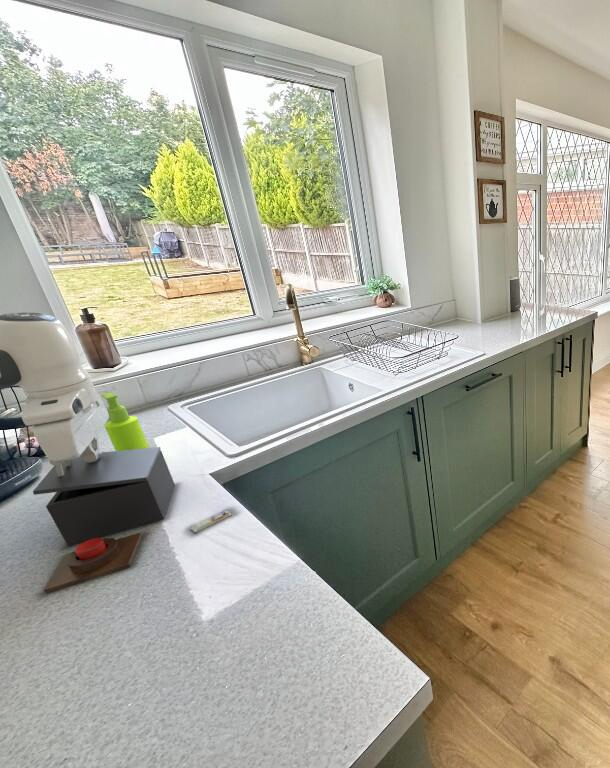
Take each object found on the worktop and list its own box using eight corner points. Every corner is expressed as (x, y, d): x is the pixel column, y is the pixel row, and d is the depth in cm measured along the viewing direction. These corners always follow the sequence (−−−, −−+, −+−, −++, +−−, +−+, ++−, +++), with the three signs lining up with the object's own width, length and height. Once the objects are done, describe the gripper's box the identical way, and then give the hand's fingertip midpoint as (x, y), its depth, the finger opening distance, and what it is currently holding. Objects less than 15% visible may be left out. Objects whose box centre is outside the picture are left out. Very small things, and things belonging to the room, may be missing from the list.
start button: (75, 563, 71) (71, 555, 71) (83, 550, 74) (78, 542, 73) (103, 555, 73) (99, 547, 72) (109, 542, 76) (105, 534, 75)
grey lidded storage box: (68, 548, 78) (45, 506, 75) (92, 508, 89) (73, 469, 86) (164, 520, 85) (147, 481, 81) (175, 486, 96) (161, 450, 92)
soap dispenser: (150, 457, 108) (120, 387, 100) (159, 465, 104) (129, 393, 97) (121, 468, 104) (88, 395, 96) (129, 477, 100) (95, 402, 92)
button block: (46, 595, 68) (38, 582, 67) (67, 559, 76) (60, 546, 75) (131, 568, 73) (125, 555, 72) (143, 537, 81) (137, 524, 79)
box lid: (33, 495, 73) (27, 470, 72) (63, 459, 84) (58, 437, 83) (147, 481, 81) (143, 458, 80) (160, 450, 92) (157, 429, 91)
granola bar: (194, 534, 81) (192, 530, 80) (190, 530, 82) (189, 525, 82) (232, 516, 85) (231, 512, 85) (228, 511, 87) (227, 507, 86)
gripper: (63, 383, 86) (90, 441, 91) (16, 421, 69) (53, 489, 75) (103, 377, 89) (127, 433, 94) (66, 412, 72) (99, 478, 77)
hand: (94, 458), depth 84 cm, fingers closed, pressing on box lid
